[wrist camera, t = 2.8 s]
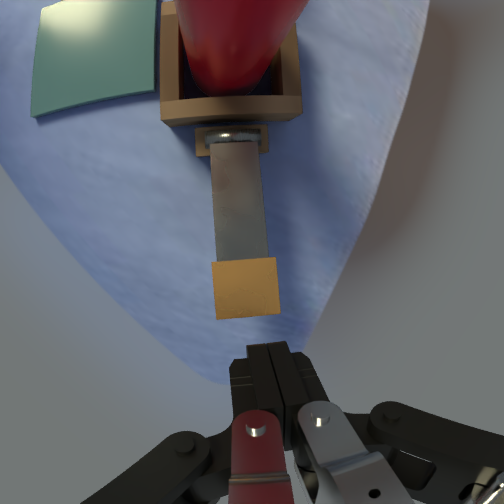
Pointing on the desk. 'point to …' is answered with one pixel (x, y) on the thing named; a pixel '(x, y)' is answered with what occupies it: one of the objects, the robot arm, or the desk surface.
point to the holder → (228, 107)
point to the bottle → (233, 40)
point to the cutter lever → (240, 227)
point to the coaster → (93, 53)
